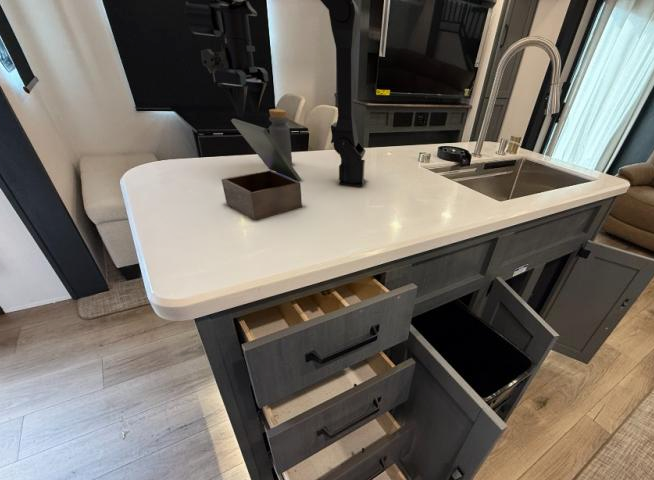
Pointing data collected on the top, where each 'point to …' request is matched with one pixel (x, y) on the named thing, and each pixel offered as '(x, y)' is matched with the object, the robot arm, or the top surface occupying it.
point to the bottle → (280, 132)
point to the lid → (266, 148)
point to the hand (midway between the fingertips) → (248, 114)
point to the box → (262, 194)
